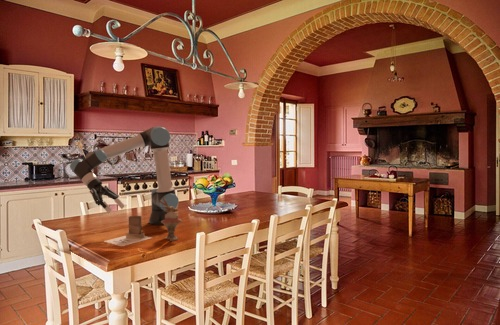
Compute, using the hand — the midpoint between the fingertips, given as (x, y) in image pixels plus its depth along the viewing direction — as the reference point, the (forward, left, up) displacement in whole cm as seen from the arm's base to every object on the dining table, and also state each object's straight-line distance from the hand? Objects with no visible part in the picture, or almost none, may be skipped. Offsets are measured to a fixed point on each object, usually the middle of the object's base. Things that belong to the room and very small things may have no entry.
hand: (117, 209), depth 195 cm
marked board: (0, +10, -17) cm, 19 cm away
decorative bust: (-18, +25, -17) cm, 35 cm away
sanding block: (-5, +10, -16) cm, 19 cm away
